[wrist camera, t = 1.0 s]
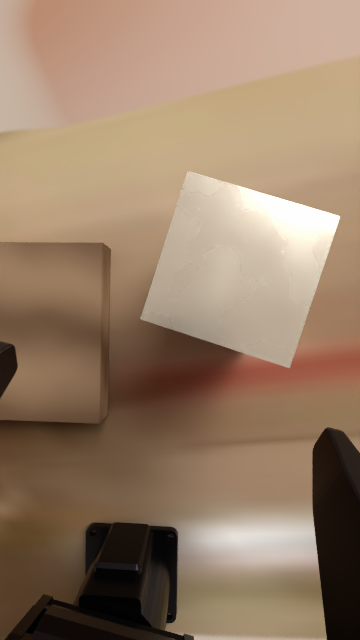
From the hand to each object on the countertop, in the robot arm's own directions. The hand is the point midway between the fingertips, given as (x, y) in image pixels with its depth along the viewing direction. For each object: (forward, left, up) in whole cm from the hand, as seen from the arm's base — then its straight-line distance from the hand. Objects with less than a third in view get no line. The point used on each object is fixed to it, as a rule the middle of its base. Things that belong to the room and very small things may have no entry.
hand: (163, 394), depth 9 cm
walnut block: (+1, +12, -14) cm, 19 cm away
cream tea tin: (+4, -2, -15) cm, 15 cm away
